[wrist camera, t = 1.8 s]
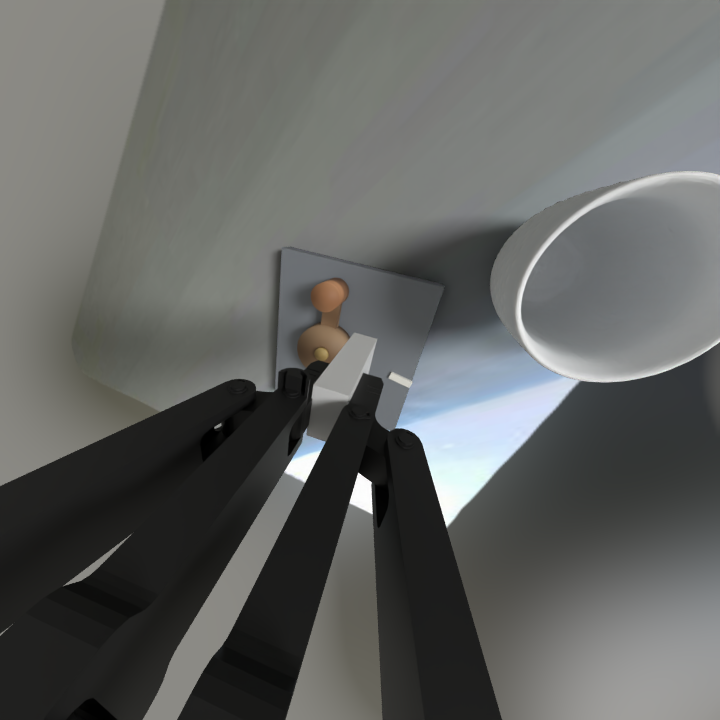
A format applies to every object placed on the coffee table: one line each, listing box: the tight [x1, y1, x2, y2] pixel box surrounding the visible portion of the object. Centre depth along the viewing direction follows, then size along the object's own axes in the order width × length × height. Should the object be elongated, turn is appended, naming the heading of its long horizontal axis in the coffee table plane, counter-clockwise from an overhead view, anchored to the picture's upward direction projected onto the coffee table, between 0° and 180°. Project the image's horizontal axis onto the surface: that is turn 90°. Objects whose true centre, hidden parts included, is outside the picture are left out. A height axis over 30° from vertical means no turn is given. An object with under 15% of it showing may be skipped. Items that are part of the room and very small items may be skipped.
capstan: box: [297, 278, 350, 368], centre depth 30 cm, size 17×6×4 cm, turn 168°
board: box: [275, 247, 445, 431], centre depth 32 cm, size 20×18×2 cm
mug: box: [490, 171, 720, 382], centre depth 19 cm, size 15×11×13 cm
